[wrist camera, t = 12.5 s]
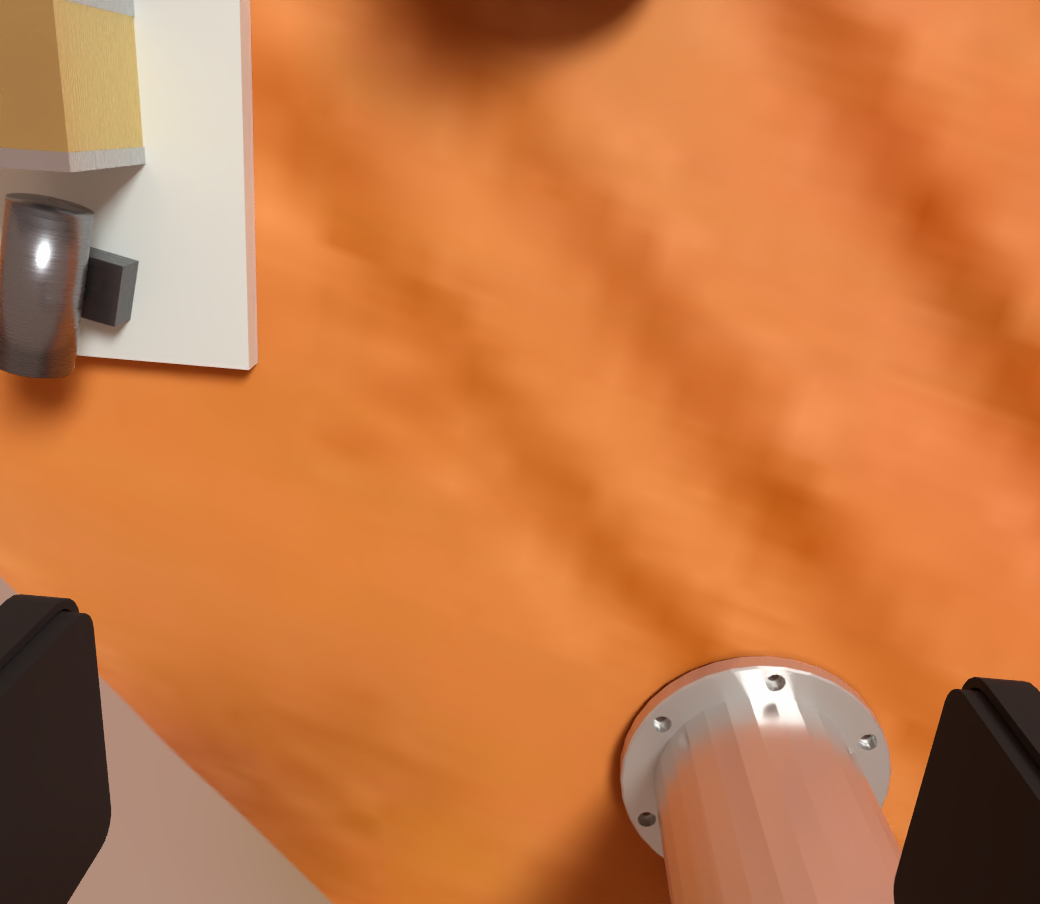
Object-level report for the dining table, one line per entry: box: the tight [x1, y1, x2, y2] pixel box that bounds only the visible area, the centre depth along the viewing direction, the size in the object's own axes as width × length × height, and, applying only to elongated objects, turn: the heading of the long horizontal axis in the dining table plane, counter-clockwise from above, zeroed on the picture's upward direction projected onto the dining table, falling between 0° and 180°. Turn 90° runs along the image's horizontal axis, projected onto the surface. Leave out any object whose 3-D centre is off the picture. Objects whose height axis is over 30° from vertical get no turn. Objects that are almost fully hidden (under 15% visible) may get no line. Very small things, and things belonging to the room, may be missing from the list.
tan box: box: [0, 0, 146, 172], centre depth 31 cm, size 6×4×6 cm
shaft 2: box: [0, 193, 139, 378], centre depth 34 cm, size 6×4×4 cm
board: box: [0, 0, 258, 370], centre depth 34 cm, size 21×12×1 cm, turn 176°
